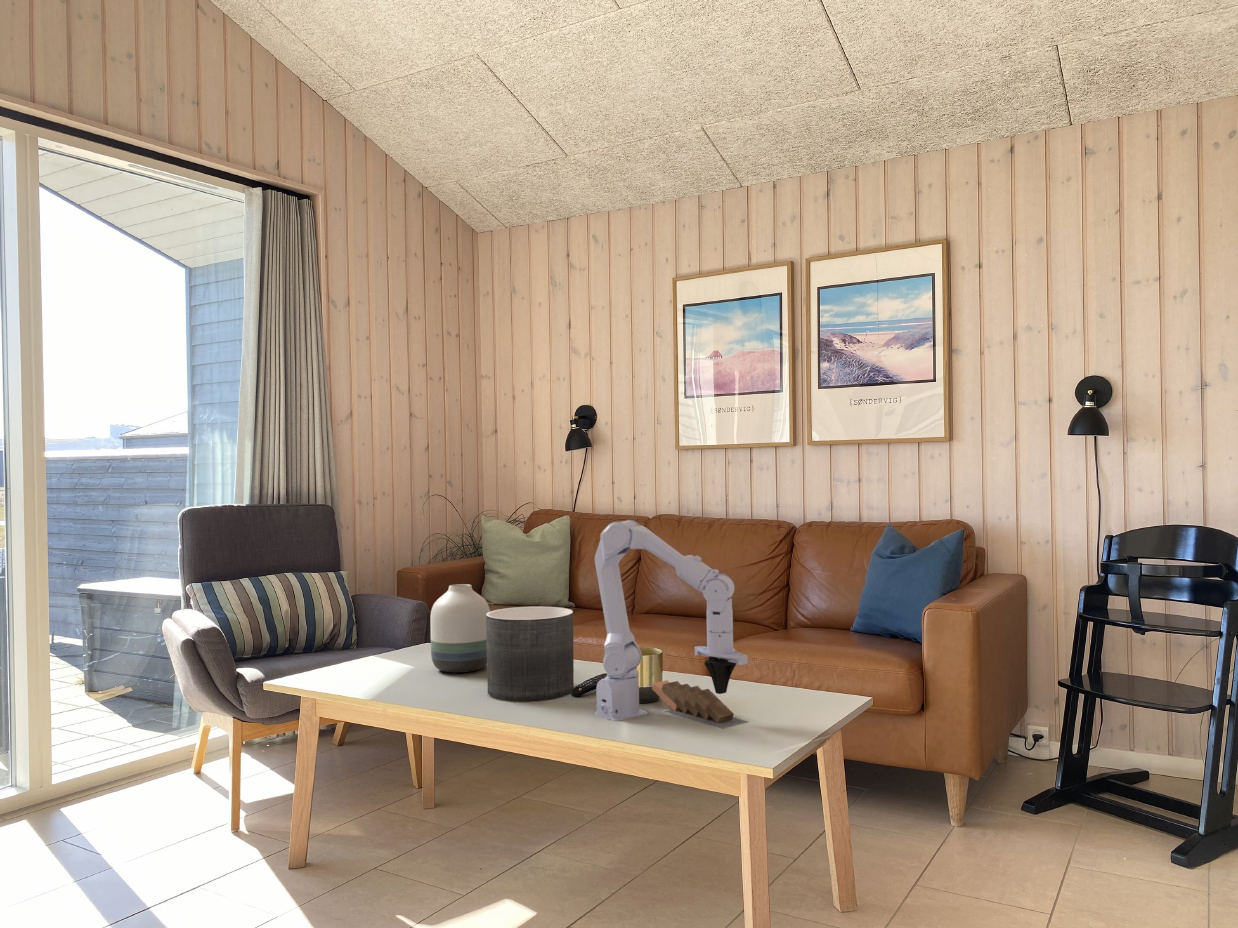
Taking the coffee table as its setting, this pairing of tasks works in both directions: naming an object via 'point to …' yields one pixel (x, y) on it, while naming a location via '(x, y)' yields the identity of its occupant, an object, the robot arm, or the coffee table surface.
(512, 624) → the planter
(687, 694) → the walnut tile
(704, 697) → the walnut tile
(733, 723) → the grey flat rectangular plate
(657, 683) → the terracotta tile
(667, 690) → the walnut tile
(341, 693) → the coffee table surface
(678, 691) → the walnut tile
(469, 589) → the vase
